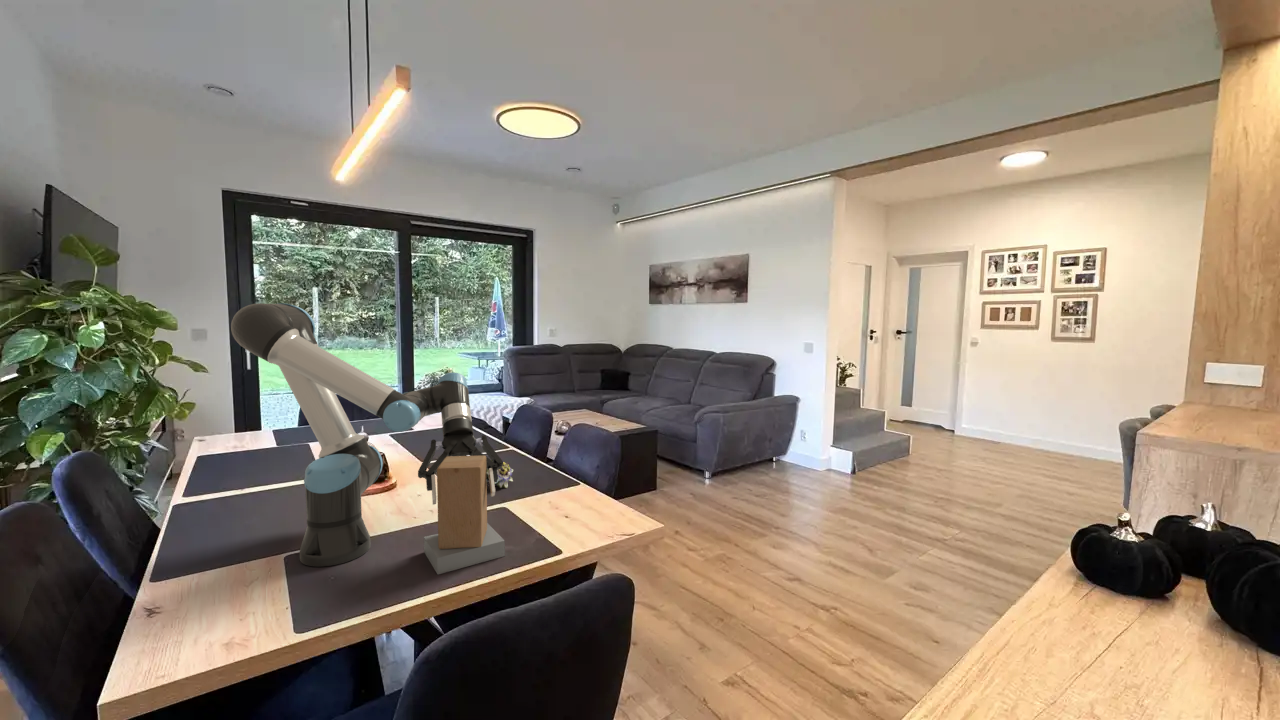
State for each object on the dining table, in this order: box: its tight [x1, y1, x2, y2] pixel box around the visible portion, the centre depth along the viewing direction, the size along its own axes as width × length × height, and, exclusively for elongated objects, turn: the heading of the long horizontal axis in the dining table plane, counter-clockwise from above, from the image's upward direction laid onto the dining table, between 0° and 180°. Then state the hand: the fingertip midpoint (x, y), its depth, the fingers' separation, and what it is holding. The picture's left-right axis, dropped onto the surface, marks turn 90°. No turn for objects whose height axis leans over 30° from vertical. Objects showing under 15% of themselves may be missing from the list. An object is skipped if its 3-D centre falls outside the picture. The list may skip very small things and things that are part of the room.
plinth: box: [423, 522, 506, 575], centre depth 126 cm, size 16×13×4 cm
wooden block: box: [436, 454, 488, 549], centre depth 124 cm, size 10×10×20 cm
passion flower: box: [487, 459, 514, 489], centre depth 175 cm, size 11×11×12 cm
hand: (464, 498), depth 123 cm, fingers open, 13 cm apart
